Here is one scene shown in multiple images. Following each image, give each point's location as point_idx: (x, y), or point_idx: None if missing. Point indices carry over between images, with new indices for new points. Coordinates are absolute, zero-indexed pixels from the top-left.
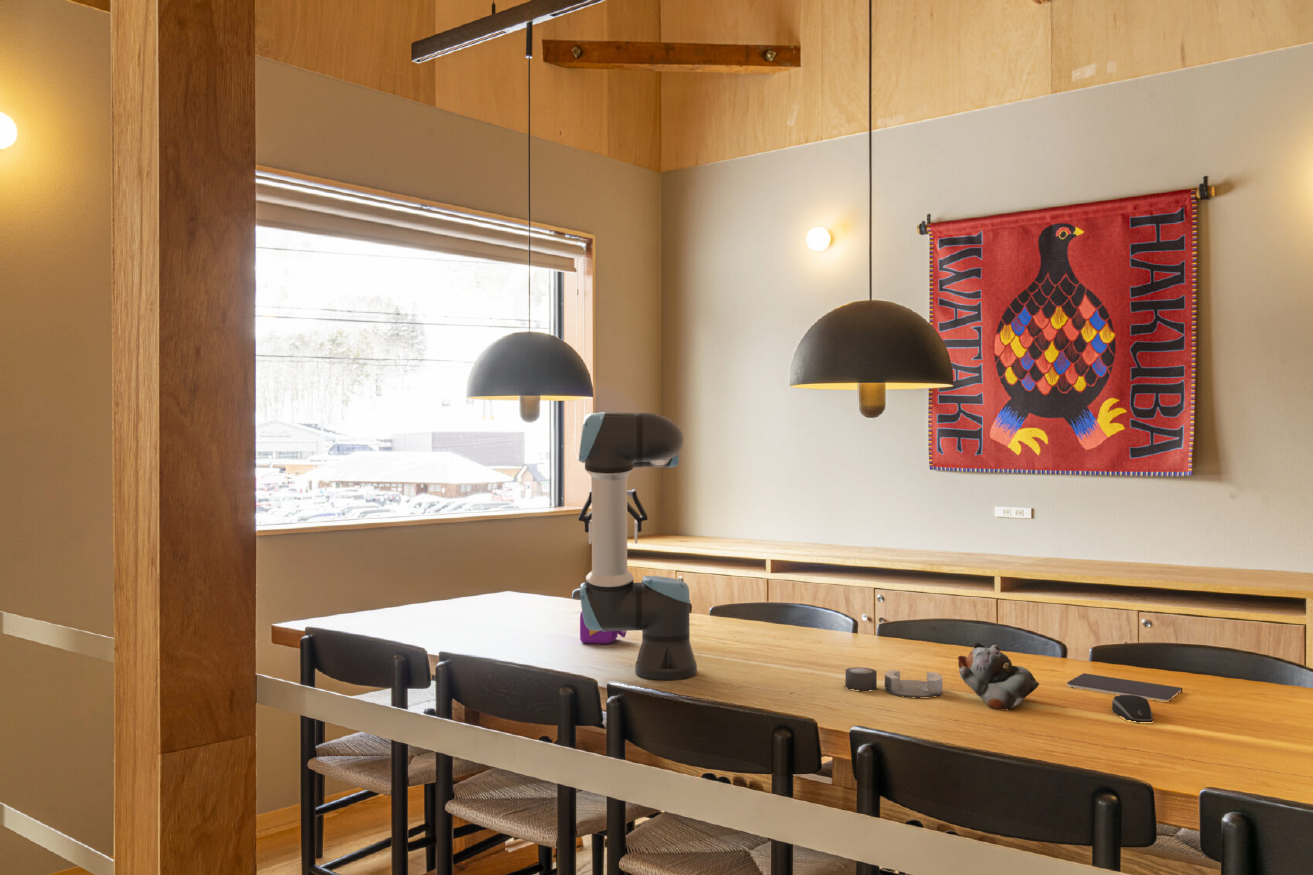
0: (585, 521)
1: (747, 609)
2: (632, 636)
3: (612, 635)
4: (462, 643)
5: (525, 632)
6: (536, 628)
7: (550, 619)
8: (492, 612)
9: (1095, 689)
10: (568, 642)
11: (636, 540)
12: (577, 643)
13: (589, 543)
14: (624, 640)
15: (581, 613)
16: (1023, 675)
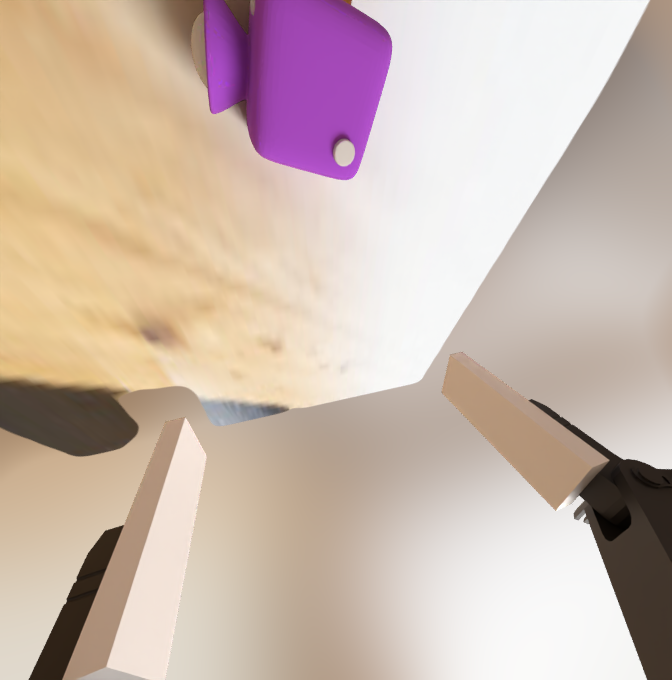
0: (653, 471)
1: (82, 431)
2: (214, 175)
3: (249, 11)
4: (600, 91)
5: (444, 224)
6: (417, 261)
7: (384, 325)
8: (440, 348)
9: None
10: None
11: (166, 438)
12: None
13: (460, 353)
14: None
15: (390, 38)
16: None
